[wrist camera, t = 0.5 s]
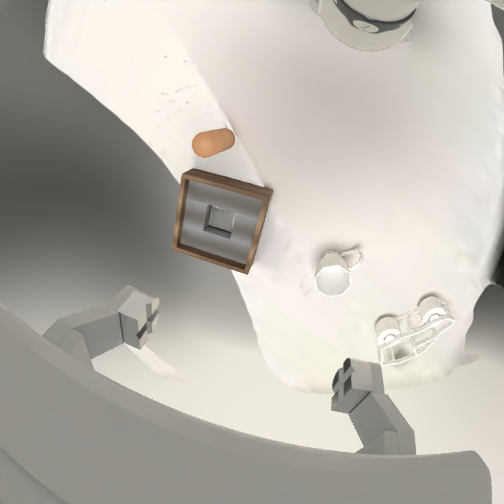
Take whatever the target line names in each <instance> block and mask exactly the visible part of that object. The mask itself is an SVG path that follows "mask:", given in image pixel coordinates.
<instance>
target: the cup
mask: <svg viewBox="0 0 504 504" xmlns="http://www.w3.org/2000/svg"><path fill="white" fill-rule="evenodd" d="M350 254H360V259H359V260H358V262H357V263H356V264H354V265H352V266H350V267H347V264H346V262H345V261H344V259H343V258H342V257H343V256H346V255H350ZM362 262H363V254H362V252H361V251H360V250H349V251H345V252H342V253H340V254H339V253H338V252H336V251H335V250H333V251H327V252H325V254H324V255H323V256H322V257H321V261H320V263H319V264H318V267H317V270H316V273H315V276H314V281H315V287H316V291H318V292H320V293H321V294H323V295H324V296H326V297H328V298H329V297H337V296H343V295H344V293H345V292H346V291H347V290H348V289H349V288H350V287H351V286H352V283H351V273H350V272H352V271H353V270H355V269H357V268H358V267H359V266H360V265H361V264H362Z"/></svg>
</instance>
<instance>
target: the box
mask: <svg viewBox="0 0 504 504" xmlns="http://www.w3.org/2000/svg"><path fill="white" fill-rule="evenodd" d="M272 193H273V190H271V189H268V188H264V187H261V186H257V185H254V184H251V183H247V182H243V181H240V180H236V179H233V178H229V177H225V176H221V175H218V174H214V173H210V172H206V171H202V170H198V169H194V168H193V169H191V170H189V171H187V172H185V173H183V174H182V178H181V184H180V191H179V200H178V206H177V215H176V223H175V232H174V241H173V250H175V251H178V252H181V253H184V254H187V255H190V256H193V257H196V258H199V259H202V260H205V261H208V262H211V263H214V264H217V265H220V266H223V267H226V268H229V269H232V270H235V271H238V272H241V273H244V274H247V275H248V273H249V270H250V268H251V266H252V264H253V261H254V257H255V254H256V250H257V246H258V243H259V239H260V236H261V232H262V229H263V225H264V221H265V218H266V214H267V211H268V207H269V203H270V200H271V196H272ZM212 206H215V207H219V208H222V209H226V210H229V211H232V212H236V215H235V220H234V224H233V229H232V232H230V231H227V230H224V229H220V228H217V227H214V226H211V225H209V219H210V214H211V208H212Z"/></svg>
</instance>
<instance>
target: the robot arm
mask: <svg viewBox="0 0 504 504" xmlns="http://www.w3.org/2000/svg"><path fill="white" fill-rule="evenodd" d="M423 1H424V0H320V2H317V1H316V0H311V2H310V7H311V8H312V9H313V10H314V11H315V12H316V13H317V14H318V15H320V17H321V18H322V20H323V22H324V23H325V25H326V27H327V28H328V30H329V31H330V32H331V33H332V35H333V36H334V37H335V38H337V39H338V40H339V41H341V42H342V43H344V44H345V45H347V46H349V47H351V48H354V49H357V50H361V51H368V52H374V51H381V50H384V49H387V48H389V47H391V46H392V45H394V44H396V43H399V42H408V41H410V40H411V39H412V27H413V23H412V17H413V15H414V13H415V10H416V8H417V7H418V6H419V5H420V4H421V3H422V2H423ZM486 1H488V2H489V3H491V4H493V5H495V6H497V7H499V8H500V9H502V10H504V0H486ZM158 305H159V299H158V298H157V297H155V296H152V295H150V294H148V293H145V292H143V291H141V290H138V289H136V288H133V287H131V286H129V285H127V286H125V287H124V288H123V289H122V290H121V291H120V292H119V293H118V294H117V295H116V296H115V297H114V298H113V300H112V301H111V302H110V303H109V304H108V305H107V306H104V305H102V306H99V307H96V308H92V309H89V310H86V311H83V312H79V313H76V314H72V315H69V316H66V317H63V318H59V319H58V320H57V321H56V322H55V323H54V324H53V325H52V326H51V327H50V328H49V329H48V330H47V331H46V332H45V333H44V334H43V335H42V336H41V335H40V334H39V333H37V332H36V331H34V330H33V329H32V328H31V327H29V326H28V325H27V324H26V323H24V322H23V321H22V320H21V319H19V318H18V317H17V316H16V315H15V314H13V313H12V312H11V311H10V310H9V309H7V308H6V307H5V306H4V305H3V304H2V303H1V302H0V504H492V490H491V489H492V487H491V476H490V472H489V469H488V467H487V466H486V464H485V463H484V461H483V460H482V459H481V457H480V456H479V455H478V454H477V453H476V452H475V451H462V452H453V453H442V454H427V455H416V446H415V436H414V431H413V429H412V428H411V427H410V425H409V424H408V423H407V421H406V420H405V418H404V417H403V415H402V414H401V413H400V411H399V410H398V409H397V407H396V406H395V404H394V403H393V402H392V400H391V399H390V398H389V396H388V395H386V394H384V385H383V377H382V370H381V365H380V364H377V363H372V362H367V361H362V360H358V359H353V358H347V359H346V360H345V361H344V363H343V368H340V369H339V370H338V371H337V373H336V374H335V377H334V379H333V384H332V390H333V391H334V393H335V394H334V396H333V397H332V406H331V410H332V411H337V412H343V413H348V414H349V417H350V419H351V421H352V423H353V425H354V427H355V429H356V431H357V433H358V435H359V437H360V439H361V441H362V443H363V446H364V447H363V448H361V449H360V450H359V451H357V452H356V453H348V452H339V451H330V450H323V449H316V448H310V447H304V446H299V445H294V444H289V443H284V442H279V441H274V440H270V439H266V438H262V437H258V436H254V435H250V434H246V433H242V432H239V431H236V430H233V429H229V428H226V427H223V426H220V425H216V424H213V423H210V422H207V421H204V420H202V419H199V418H196V417H193V416H191V415H188V414H185V413H183V412H180V411H178V410H175V409H173V408H170V407H168V406H166V405H163V404H161V403H158V402H156V401H154V400H152V399H149V398H147V397H145V396H143V395H141V394H139V393H137V392H135V391H132V390H131V389H128V388H127V387H125V386H122V385H120V384H119V383H117V382H115V381H113V380H111V379H109V378H108V377H106V376H104V375H102V374H100V373H99V372H97V371H95V370H94V367H93V365H92V362H91V359H92V358H94V357H96V356H99V355H101V354H103V353H105V352H107V351H109V350H111V349H113V348H115V347H117V346H119V345H121V344H123V342H124V343H126V344H128V345H131V346H133V347H135V348H138V349H140V350H141V348H142V347H143V345H144V344H145V342H146V341H147V334H149V333H152V332H153V330H154V329H155V327H156V325H157V323H158V319H159V312H158V310H157V309H156V308H157V307H158Z"/></svg>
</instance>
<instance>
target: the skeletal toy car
mask: <svg viewBox="0 0 504 504" xmlns="http://www.w3.org/2000/svg"><path fill="white" fill-rule="evenodd" d="M441 303H442V305H441ZM444 308H445V310H446V312H447V314H448V315H445V311H444ZM418 312H419V314H420V317H421V320H420V321H418V322H416V323H414V324H411V321H410V318H409V316H411V315H413V314H416V313H418ZM405 317H406V320H407V323H408V327H407V330H408V332H406V333H404V334H401V331H400V327H399V324H398V321H397V320H399V319H402V318H405ZM445 320H450V322H449V323H448V324H446V325H445V326H443V327H441V328H440V329H439V330H438V331H437V332H435V329H434V327H435V326H437V325H439V324H440V323H441V322H442V321H445ZM454 323H455V320H454V318H453V316H452V314H451V312H450V310H449V308H448V306H447V304H446V302H445V300H443V299H441V298H437V297H434V296H432V297H428V298H426V299H424V300H423V301H422V302H421V303H420V305H419V307H418V308H416V309H414V310H412V311H409V312H406V313H403V314H401V315H398V316H396V317H394V318H393V317H386V318H383V319H381V320H380V321H379V322H378V323H377V324H376V327H375V330H376V335H377V342H376V345H377V351H378V358H379V364H380V365H381V366H388V365H397V364H400V363H403V362H405V361H408V360H410V359H413V358H415V357H416V356H419V355H420V354H421V353H423V352H425V351H427V349H428V348H429V347H430V346H431V345H432V344H433V343H434V342H435V341H436V340H437V338H438V337H439V335H440V334H441V333H442V332H444V331H445V330H447V329H449V328H451V327H452V326H453V325H454ZM421 324H422V325H421ZM419 325H421V326H420V327H419V328H418V329H415V330H413V328H415V327H417V326H419ZM428 328H431V330H432V333H433V335H432V336H430V337H427V338H425V339H423V340H421V341H419V342H416V343H415V340H414V336H415V335H417V334H419V333H421V332H423V331H425V330H427V329H428ZM409 339H410V340H411V343H412V347H413V351H414V353H412V354H410V355H408V356H406V357H403V358H400V359H398V360H395V355H394V350H393V346H394V345H397V344H400V343H402V342H404V341H407V340H409ZM424 344H426V345H425V346H424V347H423V348H421V349H419V350H417V349H416V348H417V347H419V346H422V345H424ZM388 347H390V352H391V357H392V360H388V361H383V358H384V355H383V350H385V349H386V348H388Z"/></svg>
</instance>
